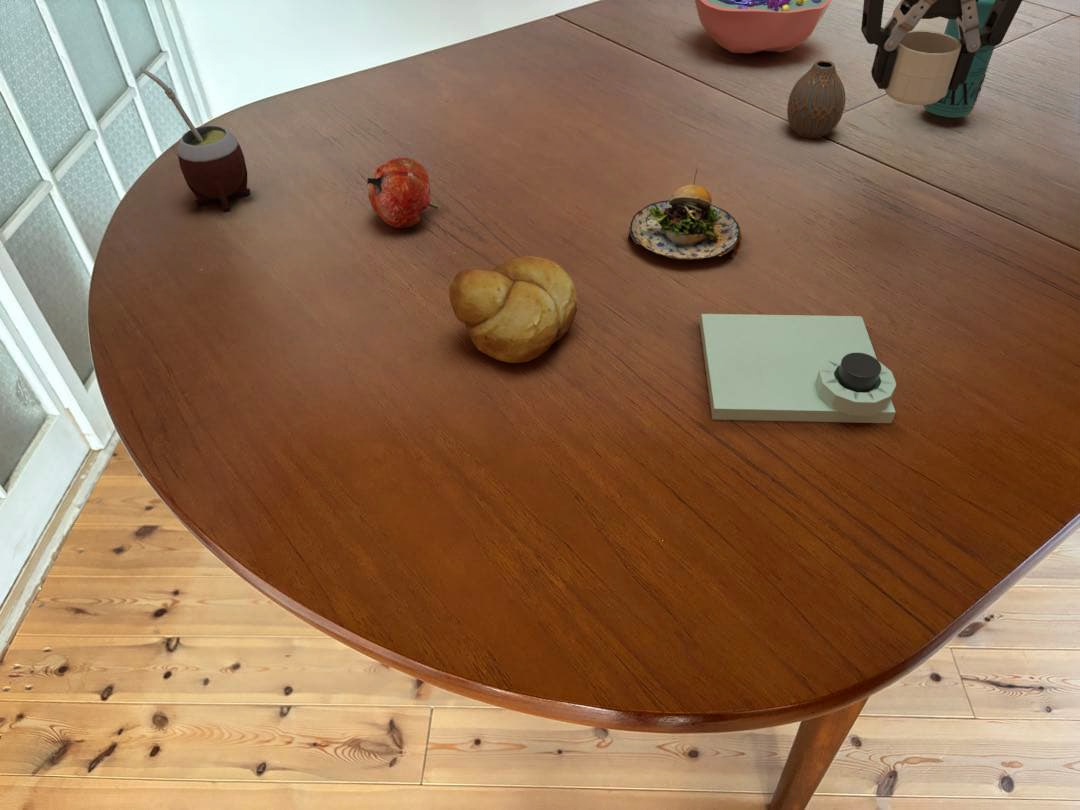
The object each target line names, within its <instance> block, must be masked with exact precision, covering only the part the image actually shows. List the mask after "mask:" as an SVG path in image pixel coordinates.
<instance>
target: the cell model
mask: <svg viewBox="0 0 1080 810" xmlns="http://www.w3.org/2000/svg"><path fill="white" fill-rule="evenodd" d="M832 1H833V0H694V3H695V8H696V12H697V16H698V19H699V23H700V24H701V26H702V28H703V29H704V31H705V32H706V33H707V35H708V37H709V38H710V39H711V40H712V41H714V42H715V43H717V44H718V46H720V47H721V48H723V49H724V50H726V51H728V52H729V53H733V54H756V53H763V52H772V53H785V52H788V51H790V50H792V49H795V48H796V47H798V46H800V45H802V44H803V43H804V42H805V41H807V40H808V39H809V38H810V36H811V35H812V34H813V33H814V31H815V29H816V27H817V26H818V24H820V22H821V20H822V18H823V17H824V15H825V14H826V12H827V10H828V8H829V7H830V4H831V3H832Z"/></svg>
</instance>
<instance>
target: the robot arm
mask: <svg viewBox="0 0 1080 810" xmlns="http://www.w3.org/2000/svg"><path fill="white" fill-rule="evenodd" d="M978 1H979V0H900V1H899V2H898V4H897V5H896V6H895V8H894V9H893V11H892V15H891V17H890V18H889V20H888V21H887V22H886V24H885V25H884V27H882V21H883V14H884V13H883V12H884V3H885V0H863V5H862V6H863V7H862V16H861V17H862V18H861V25H860V26H861V27H860V31H861V33H862V35H863V37H864V39H865V42H867V44H869V45H876V50H875V55H874V59H873V63H872V67H871V69H870V70H871V71H870V73H871V74H870V75H871V78H872V80H873V82H874V84H875V85H876V86H877V89H878V90H884V89H887V87H888V84H889V81H890V77H891V73H892V70H893V66H894V62H895V59H896V55H897V51H896V47H897V46H898V45H899V43H900V42H901V41H902V40H903V38H904V37H905V36H906V34H907V33H908V32H909V31H913V30H915V28H916V26H918V24H919V22H921V20H932V19H936V18H943V19H947V20H948V19H956V21H957V26H958V32H959V38H960V43H961V44H962V47H961V50H960V53H959V56H958V60H957V63H956V66H955V69H954V72H953V75H952V78H951V81H950V84H949V87H948V90H957V89H958V86H959V84H963V83H964V82H965V81H966V79H967V76H968V73H969V70H970V67H971V64H972V61H973V58H974V55H975V53H976V52H977V50H978V49H980V48H981V47H984V46H987V45H991V46H996V47H998V45H1000V44H1001V43H1002V42H1003V40H1004V38H1005V36H1006V34H1007V33H1008V30H1009V28H1010V26H1011V24H1012V22H1013V20H1014V18H1015V16H1016V14H1017V12H1018V10H1019V8H1020V6H1021V4H1022V2H1023V0H995V2H994V4H993V6H992V8H991V11H990V13H989V15H988V17H987V19H986V21H985V23H984V25H983V27H982V28H978V27H979V19H978V12H977V5H976V3H977V2H978Z"/></svg>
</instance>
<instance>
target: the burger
mask: <svg viewBox="0 0 1080 810" xmlns="http://www.w3.org/2000/svg"><path fill="white" fill-rule="evenodd" d="M697 173H698V168H696V169H695V174H694V180H693V184H687V185H684V186H680V187H679V188H677V189H676V190H675V191H673V193H672V194H671V195H670V197H669V199H668V200H661V201H657V202H653V203H650V204H647V205H645V206H644V207H643V208H642V209H640V210H638V211H637V212H636V213H635V214H634V215H633V216H632V219H631V220H630V223H629V232H628V235H627V239H628V240H630V239H632V241H633V242H634V243H635V244H637V245H640V246H641V247H643V248H645V250H647V251H649V252H652V253H654V254H656V255H658V256H660V255H661V256H664V257H666V258H669V259H675V260H689V261H690V260H702V259H708V258H709V259H710V258H712V257H713V258H714V257H722V256H724V255H726V254H728V253H730V251H731V253H730V258H732V259H734V258H735V257H737V256H738V253H739V252H740V248H741V242H742V231H741V227H740V225H739V223H738V222H737V220H736V218H735V217H734V216H732V215H731V214H730V213H729V212H728V211H727V210H726V209H725V210H724V209H723V208H721V207H717V206H716V205H714V204H712V203H713V202H712V201H713V200H712V196H711V194H710V192H709V191H708V190H707V189H706V188H705V187H703V186H701V185H698V184H695V182H696V178H697Z"/></svg>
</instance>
